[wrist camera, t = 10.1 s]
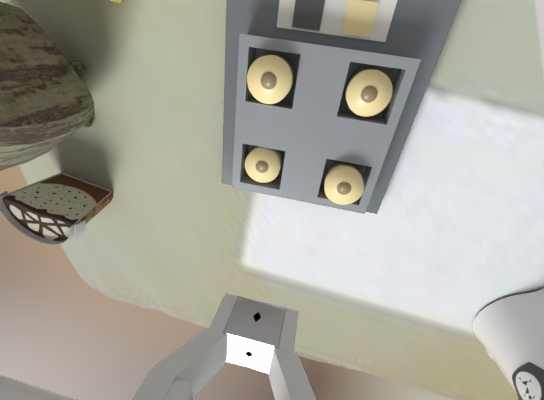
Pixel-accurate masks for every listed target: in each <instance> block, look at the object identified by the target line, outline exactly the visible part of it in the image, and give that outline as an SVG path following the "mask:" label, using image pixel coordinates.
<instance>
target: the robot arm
mask: <svg viewBox="0 0 544 400" xmlns="http://www.w3.org/2000/svg"><path fill="white" fill-rule="evenodd" d="M297 321H298V311H296V310H292V309H287V308H286V309H285V307H281V306H277V305H272V304H268V303H264V302H258V301H254V300H251V299H247V298H243V297H240V296H236V295H232V294H228V293H226V294H225V296H224V297H223V299H222V302H221V304H220V306H219V308H218V311H217V313H216V315H215V317H214V320H213V322H212V324H211V326H210V329H204V330H203V331H202V332H200V333H199V334H197V335H196V336H195V337H193V338H192V339H191V340H189V341H188V342H187V343H185V344H184V345H183V346H181V347H180V348H179V349H177V350H176V351H174V352H173V353H172V354H171V355H169V356H168V357H166V358H165V359H164V360H162V361H161V362H159V363H158V364H157V365H155V366H154V367H153V368H151V369H150V370H149V372H148V374H147V375H146V377H145V379H144V380H143V382H142V384H141V386H140V387H139V389H138V391H137V392H136V394H135V396H134V398H133V400H193V396H194V395H195V394H196V392H198V391H199V390H200V389H201V387H203V385H205V384H206V383H207V382H208V381H209V380H210V378H212V377H213V376H214V375H215V374H216V373H217V372H218V371H219V370H220V368H222V366H224V365H225V363H226V362H230V363H234V364H238V365H242V366H246V367H249V368H253V369H256V370H259V371H262V372H265V373H268V374H269V379H270V382H271V386H272V390H273V394H274V398H275V400H316V398H315V396H314V393H313V391H312V388H311V386H310V384H309V381H308V379H307V376H306V374H305V372H304V369H303V367H302V365H301V362H300V360H299V357H298V355H297V353H294V352H293V350H294V343H295V335H296V328H297ZM473 331H474V334H475V335H476V337H477V338H478V339H479V340H480V341H481V342H482V344H483V345H484V346H485V347H486V351H487V353H488V355H489V356H490V358H491V359H493V360H495V361H496V363H497V365H498V366H499V368H500V369H501V371H502V372H503V374H504V375H505V377H506V378H507V380H508V381H509V383H510V384H511V386H512V387H513V389H514V390H515V392H516V393H517V395H518V398H519V400H544V288H543V289H541V290H538V291H535V292H531V293H525V294H518V295H513V296H509V297H506V298H503V299H500V300H498V301H496V302H494V303H492V304H490V305H488V306H487V307H485V308H484V309H483V310H481V311H480V312H479V314H478V315H477V316H476V318H475V319H474V322H473ZM0 400H77V399H73V398H71V397H68V396H64V395H62V394H58V393H55V392H52V391H49V390H46V389H43V388H40V387H37V386H33V385H31V384H27V383H24V382H21V381H18V380H15V379H12V378H9V377H6V376H3V375H0Z"/></svg>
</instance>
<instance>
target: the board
mask: <svg viewBox="0 0 544 400" xmlns="http://www.w3.org/2000/svg"><path fill="white" fill-rule="evenodd" d="M460 2H461V0H227V8H226V47H225V86H224V124H223V163H222V183H223V184H228V185H232V188H237V189H242V190H247V191H252V192H257V193H262V194H268V195H273V196H278V197H283V198H288V199H293V200H298V201H303V202H308V203H313V204H318V205H323V206H328V207H333V208H338V209H343V210H348V211H354V212H359V213H364V214H365V212H370V213H375V214H377V212H378V210H379V207H380V205H381V202H382V200H383V197H384V194H385V192H386V189H387V187H388V184H389V182H390V179H391V177H392V174H393V172H394V169H395V167H396V164H397V162H398V159H399V156H400V154H401V151H402V149H403V146H404V144H405V141H406V139H407V136H408V134H409V131H410V129H411V126H412V124H413V121H414V118H415V116H416V113H417V111H418V108H419V106H420V103H421V101H422V98H423V96H424V93H425V91H426V88H427V86H428V83H429V80H430V78H431V75H432V73H433V70H434V68H435V65H436V63H437V60H438V58H439V55H440V53H441V50H442V48H443V45H444V42H445V40H446V37H447V35H448V32H449V30H450V27H451V25H452V22H453V20H454V17H455V15H456V12H457V10H458V7H459V4H460ZM266 55H279V56H281V57H283V58H284V59H286V60H287V61H288V63H289V64H290V66H291V68H292V70H293V75H294V80H293V85H292V88H291V90H290V91H289V93H288V94H287V95H286V96H285V97H284V98H283V99H282V100H281V101H279V102H277V103H274V104H265V103H262V102H260V101H258V100H257V99H255V98H254V97H253V95H252V94H251V92H250V90H249V88H248V84H247V74H248V71H249V68H250V66H251V65H252V63H253V62H254V61H255V60H256V59H258V58H260V57H262V56H266ZM365 68H374V69H377V70H379V71H381V72H383V73H385V74H386V75H387V76H388V77H389V79H390V81H391V83H392V88H393V92H392V97H391V100H390V102H389V103H388V105H387V106H386V107H385V109H383V110H382V111H381V112H380V113H378V114H376V115H373V116H368V117H365V116H359V115H357V114H355V113H354V112H353V111H352V110H351V109H350V108H349V106H348V104H347V101H346V97H345V88H346V85H347V83H348V81H349V79H350V78H351V77H352V76H353V75H354V74H355V73H356V72H358V71H359V70H362V69H365ZM255 146H259V147H265V148H270V149H276V150H279V151H280V153H281V155H282V160H283V161H282V166H281V168H280V171H279V174H278V175H277V177H276V178H275V179H274V180H272V181H270V182H267V183H261V182H257V181H255V180H253V179H252V178H251V177H250V176H249V175H248V174H247V172H246V169H245V160H246V158H247V156H248V155H249V153H250V152H251V150H252V149H253V148H254V147H255ZM342 162H346V163H351V164H353V165H355V166H356V167H357V168H358V169H359V170H360V172H361V175H362V179H363V183H364V191H363V194H362V196H361V197H360V198H359V199H358V200H357V201H355V202H353V203H351V204H347V205H340V204H336V203H334V202H332V201H331V200H329V199H328V197H327V196H326V194H325V190H324V184H325V175H326V172H327V171H328V169H329V168H330V167H332V166H333V165H335V164H337V163H342Z"/></svg>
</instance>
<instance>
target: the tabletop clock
mask: <svg viewBox="0 0 544 400" xmlns="http://www.w3.org/2000/svg"><path fill="white" fill-rule="evenodd" d="M84 72H85V67H84V65H83V64H82V63H80V62H78V61H73V62H72V63H71V64H69V62H68V61H67V60H66V58H65V57H64V56H63V55H62V53H61V52H60V51H59V50H58V49H57V47H56V46H55V45H54V44H53V42H52V41H51V40H50V39H49V38H48V36H47V35H46V34H45V33H44V31H43V30H42V29H41V28H40V27H39V26H38V24H37V23H36V22H35V21H34V20H33V19H32V18H31V17H29V16H28V15H27V14H26V13H25V12H24V11H23V10H21V9H19V8H17V7H14V6H12V5H9V4H6V3H3V2H0V171H1V170H4V169H7V168H11V167H14V166H17V165H21V164H24V163H27V162H29V161H31V160H33V159H35V158H37V157H39V156H41V155H43V154H45V153H47V152H49V151H50V150H52V149H53V148H54V147H56V146H57V145H58V144H60V143H61V142H62V141H64V140H65V139H66V138H68V137H69V136H70V135H71V134H73V133H74V132H75V131H77V130H78V129H79V128H81V127H82V126H83V127H90V126H91V125H92V123H93V122H92V119H91V118H92V116H93V115H94V101H93V99H92V96H91V94H90V92H89V90H88V89H87V87H86V86H85V85H84V83H83V82H82V80H81V79H80V78H79V76H78V75H81V74H83V73H84ZM77 74H78V75H77Z"/></svg>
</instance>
